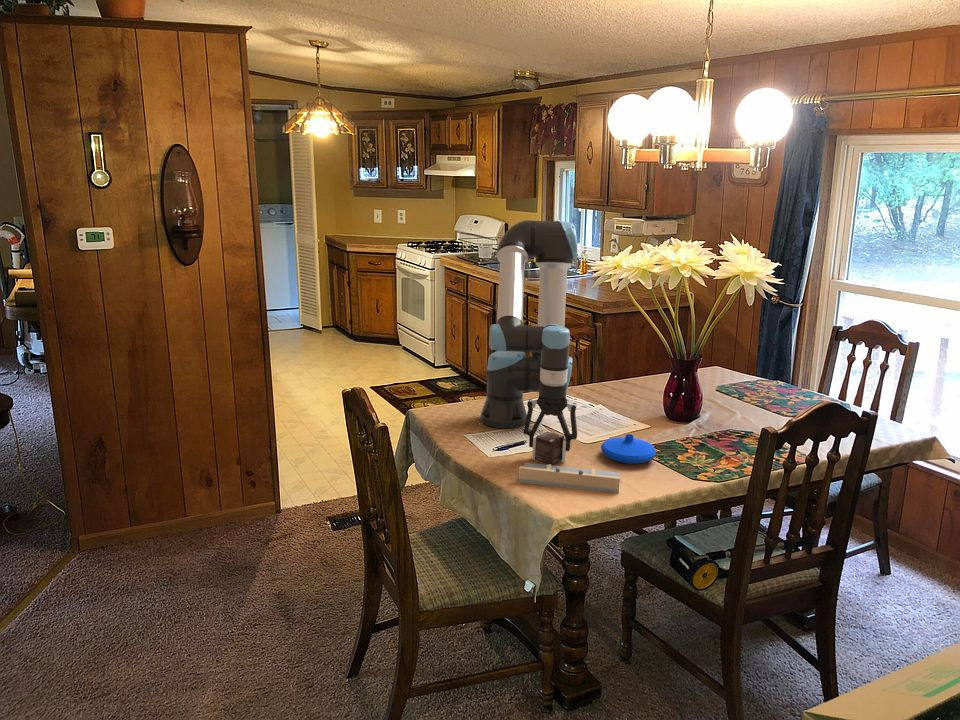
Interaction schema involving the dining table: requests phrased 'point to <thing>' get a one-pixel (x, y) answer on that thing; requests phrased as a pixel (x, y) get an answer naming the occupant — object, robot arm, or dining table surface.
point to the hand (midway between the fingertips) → (548, 459)
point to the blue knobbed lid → (628, 450)
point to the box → (549, 448)
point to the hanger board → (569, 477)
